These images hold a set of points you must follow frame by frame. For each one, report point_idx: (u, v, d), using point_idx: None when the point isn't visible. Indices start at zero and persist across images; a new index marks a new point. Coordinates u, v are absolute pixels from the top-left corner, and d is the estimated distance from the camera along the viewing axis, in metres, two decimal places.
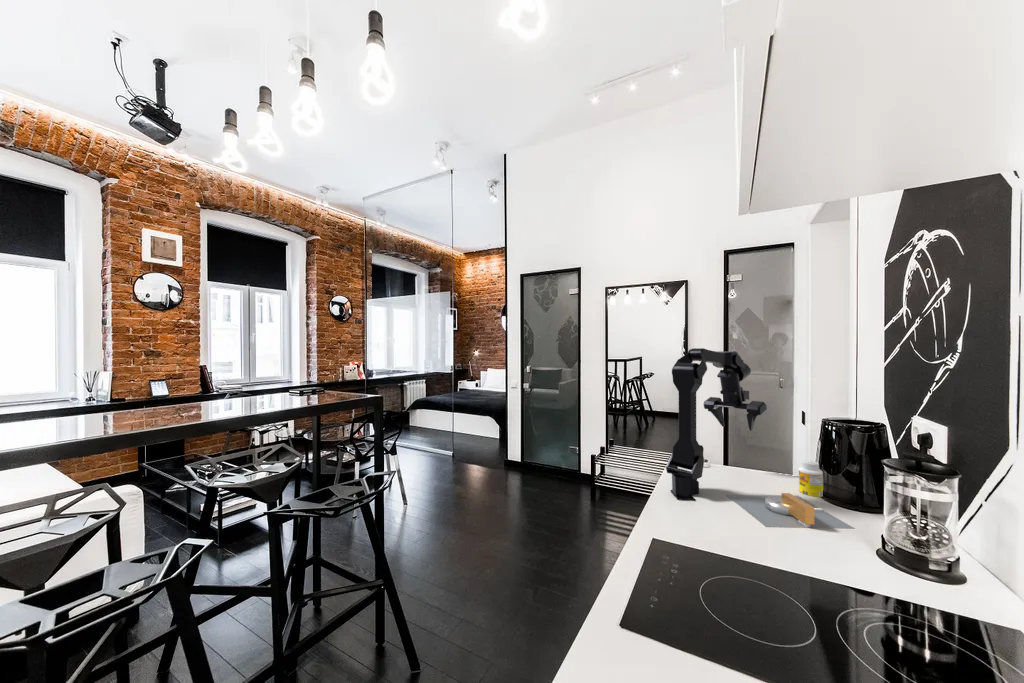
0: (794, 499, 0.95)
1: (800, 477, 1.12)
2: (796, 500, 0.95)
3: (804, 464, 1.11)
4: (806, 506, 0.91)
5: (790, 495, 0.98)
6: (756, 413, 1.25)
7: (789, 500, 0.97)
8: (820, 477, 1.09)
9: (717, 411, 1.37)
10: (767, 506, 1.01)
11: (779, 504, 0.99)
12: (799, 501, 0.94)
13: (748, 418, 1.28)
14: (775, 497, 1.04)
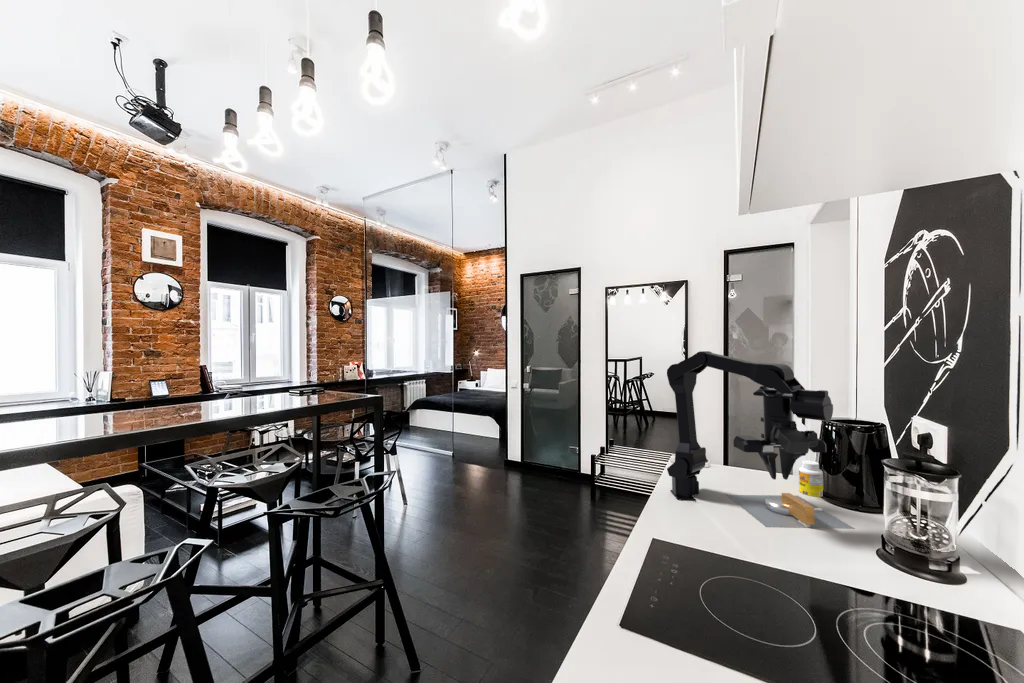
0: (794, 499, 0.95)
1: (800, 477, 1.12)
2: (796, 500, 0.95)
3: (804, 464, 1.11)
4: (806, 506, 0.91)
5: (790, 495, 0.98)
6: None
7: (789, 500, 0.97)
8: (820, 477, 1.09)
9: (781, 451, 0.95)
10: (767, 506, 1.01)
11: (779, 504, 0.99)
12: (799, 501, 0.94)
13: None
14: (775, 497, 1.04)
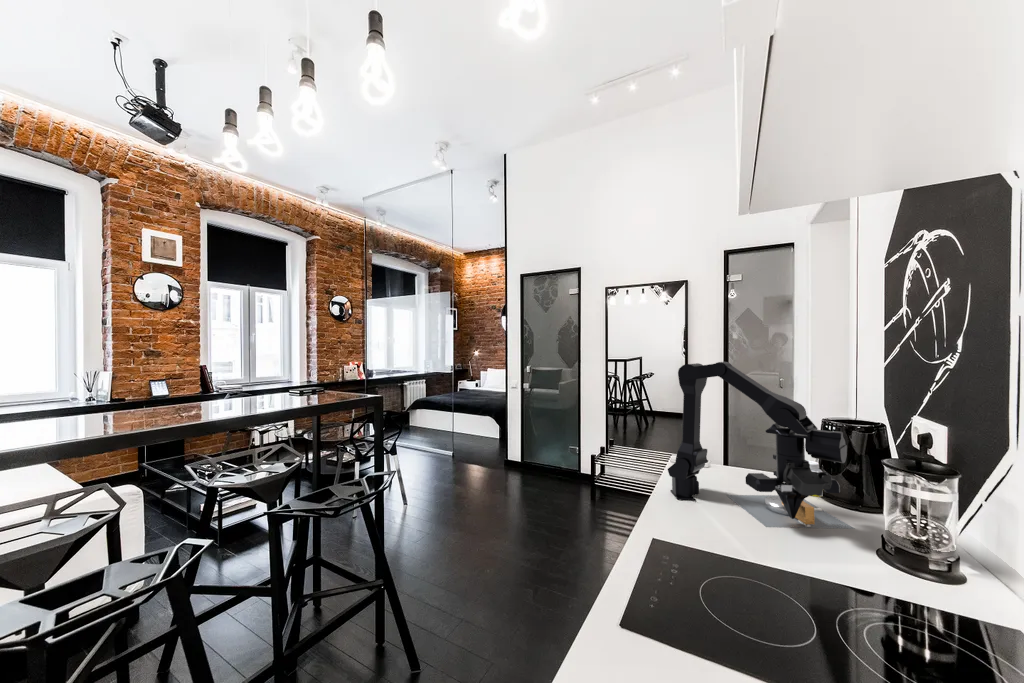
0: None
1: None
2: None
3: None
4: (806, 506, 0.91)
5: None
6: None
7: None
8: None
9: None
10: (767, 506, 1.01)
11: (779, 504, 0.99)
12: None
13: None
14: (775, 497, 1.04)
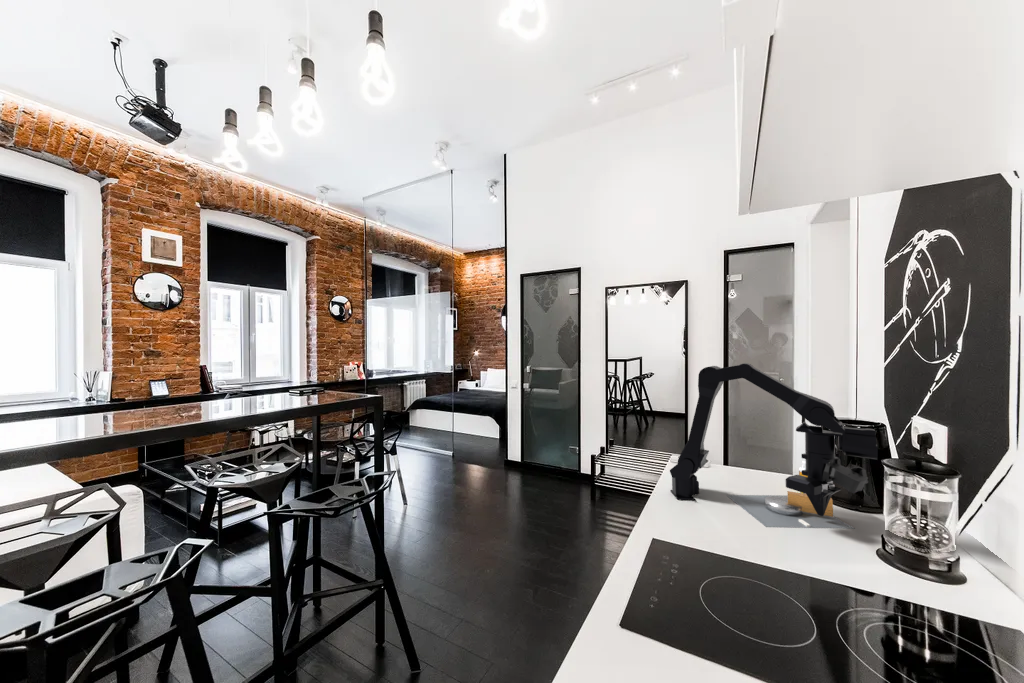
0: None
1: None
2: None
3: (804, 464, 1.11)
4: None
5: (795, 493, 0.99)
6: None
7: (802, 498, 0.98)
8: None
9: None
10: (783, 512, 0.97)
11: (790, 505, 0.98)
12: None
13: None
14: (769, 499, 1.02)
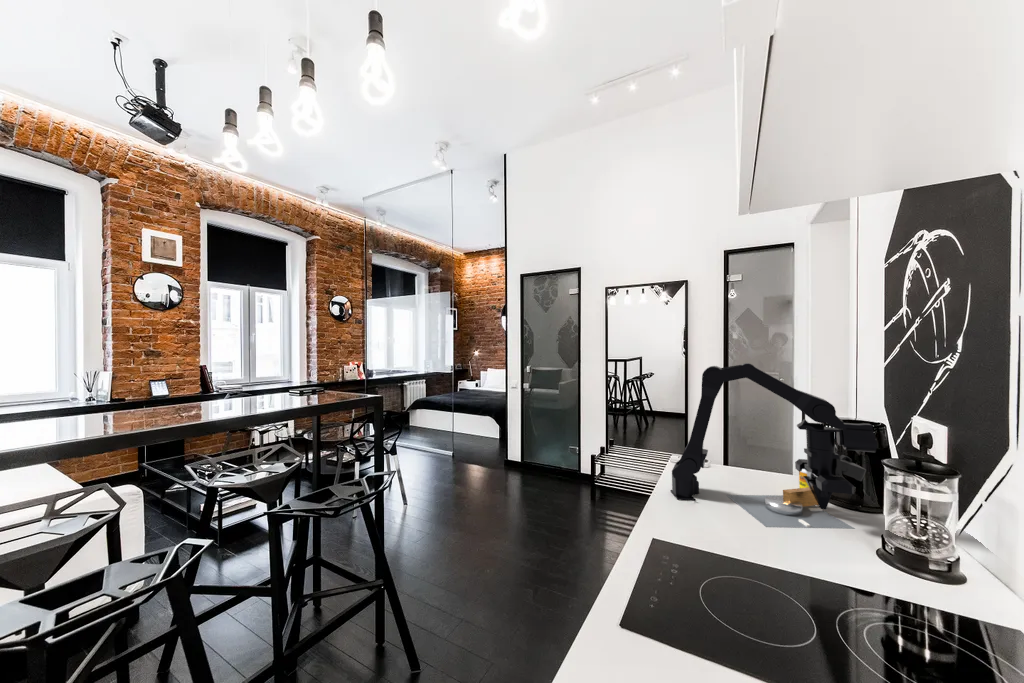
0: (802, 490, 1.01)
1: (800, 477, 1.12)
2: (803, 490, 1.01)
3: None
4: None
5: (790, 490, 1.01)
6: (820, 487, 0.91)
7: (799, 494, 1.00)
8: None
9: (812, 482, 0.99)
10: (796, 513, 0.97)
11: (794, 504, 0.99)
12: (803, 489, 1.02)
13: (811, 487, 0.98)
14: (774, 503, 1.00)
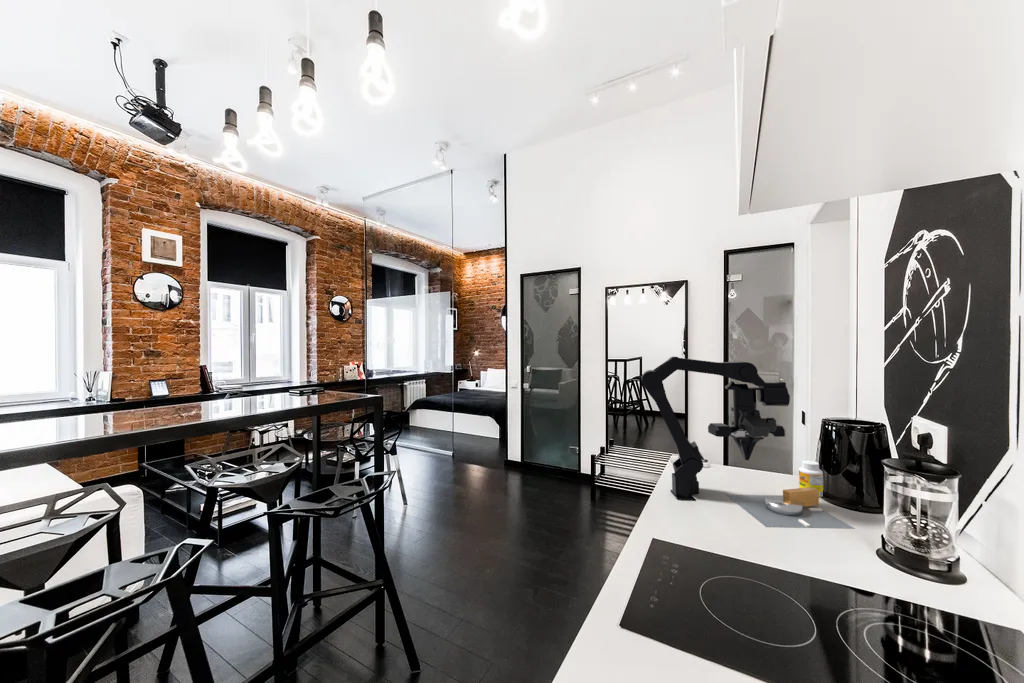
0: (802, 490, 1.01)
1: (800, 477, 1.12)
2: (803, 490, 1.01)
3: (804, 464, 1.11)
4: (814, 489, 1.02)
5: (790, 490, 1.01)
6: None
7: (799, 494, 1.00)
8: (820, 477, 1.09)
9: (744, 436, 1.11)
10: (796, 513, 0.97)
11: (794, 504, 0.99)
12: (803, 489, 1.02)
13: None
14: (774, 503, 1.00)
